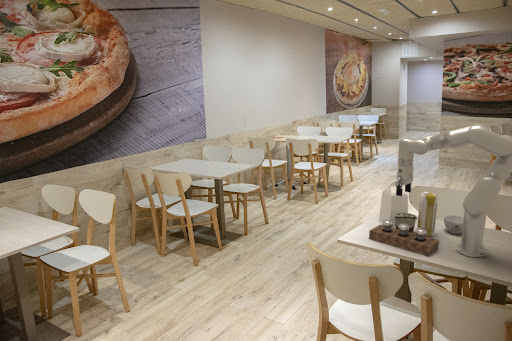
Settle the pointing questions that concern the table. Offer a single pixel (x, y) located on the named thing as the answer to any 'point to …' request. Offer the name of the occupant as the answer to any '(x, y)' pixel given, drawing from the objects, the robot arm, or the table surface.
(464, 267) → the table surface
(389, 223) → the knob
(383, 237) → the knob mount
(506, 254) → the table surface
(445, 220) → the teacup
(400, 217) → the food container
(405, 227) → the knob
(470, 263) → the table surface
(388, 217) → the milk
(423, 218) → the juice carton
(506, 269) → the table surface
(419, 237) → the knob
